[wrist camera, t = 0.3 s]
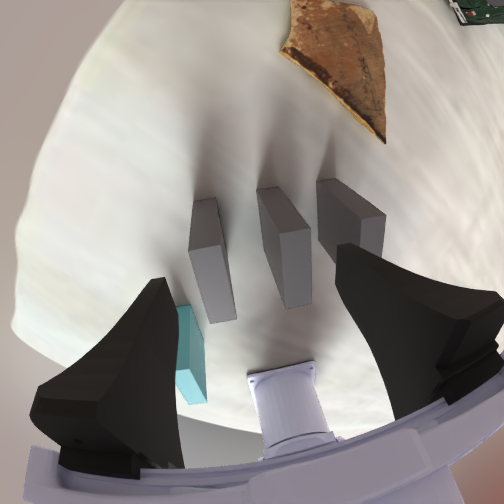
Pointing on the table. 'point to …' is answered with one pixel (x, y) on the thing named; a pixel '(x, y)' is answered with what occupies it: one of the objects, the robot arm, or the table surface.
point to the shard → (341, 56)
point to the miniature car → (479, 11)
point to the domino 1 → (190, 358)
